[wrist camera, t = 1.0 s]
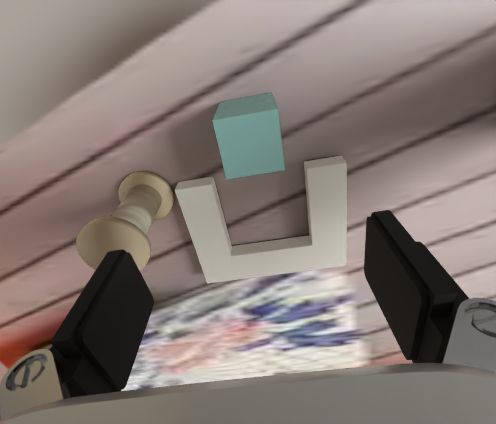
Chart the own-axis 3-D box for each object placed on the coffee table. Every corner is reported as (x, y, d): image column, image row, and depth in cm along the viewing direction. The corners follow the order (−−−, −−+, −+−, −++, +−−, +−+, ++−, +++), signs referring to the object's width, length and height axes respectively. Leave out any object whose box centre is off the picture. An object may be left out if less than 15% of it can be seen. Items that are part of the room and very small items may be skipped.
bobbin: (164, 167, 31) (132, 216, 23) (180, 213, 34) (158, 272, 26) (112, 175, 32) (62, 227, 23) (133, 220, 35) (95, 280, 26)
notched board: (341, 155, 30) (346, 162, 29) (341, 255, 38) (346, 265, 36) (178, 182, 32) (174, 190, 30) (209, 272, 39) (207, 283, 38)
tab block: (271, 92, 27) (277, 108, 21) (277, 143, 30) (284, 170, 24) (220, 101, 28) (212, 120, 22) (230, 150, 30) (226, 179, 24)
